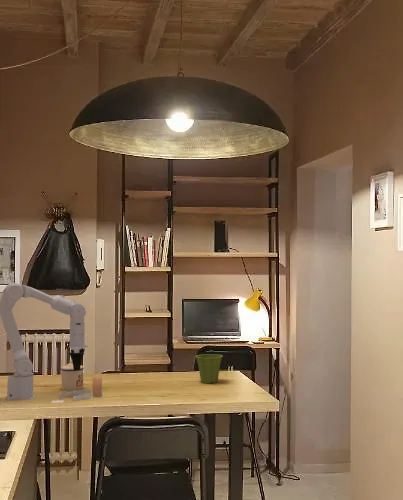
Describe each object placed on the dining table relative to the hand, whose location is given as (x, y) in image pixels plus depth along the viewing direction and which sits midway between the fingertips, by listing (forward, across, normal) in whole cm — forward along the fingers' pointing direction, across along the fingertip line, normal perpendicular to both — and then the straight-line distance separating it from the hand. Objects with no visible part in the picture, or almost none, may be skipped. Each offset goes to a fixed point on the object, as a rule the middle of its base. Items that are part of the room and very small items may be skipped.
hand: (77, 369), depth 253 cm
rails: (+10, -9, +1) cm, 13 cm away
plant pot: (+10, +16, -55) cm, 58 cm away
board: (+10, -10, -1) cm, 14 cm away
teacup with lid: (+10, +12, +2) cm, 16 cm away
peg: (+9, -8, -8) cm, 14 cm away
